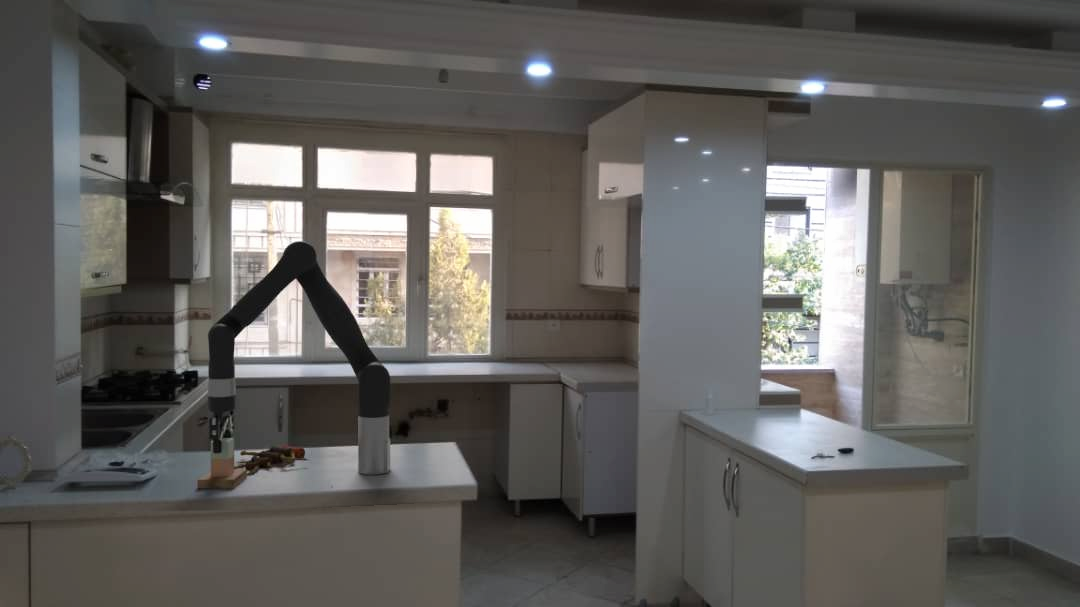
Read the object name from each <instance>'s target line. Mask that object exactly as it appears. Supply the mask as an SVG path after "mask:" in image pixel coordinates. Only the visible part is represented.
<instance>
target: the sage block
mask: <svg viewBox="0 0 1080 607" xmlns="http://www.w3.org/2000/svg"><path fill="white" fill-rule="evenodd" d="M221 440H222V452H221V453H219V454H215V453H213V440H211V441H210V460H211V459H230V458H231V457H232V456H234V457H235V438H234V437H232V438H223V437H222V439H221Z"/></svg>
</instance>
